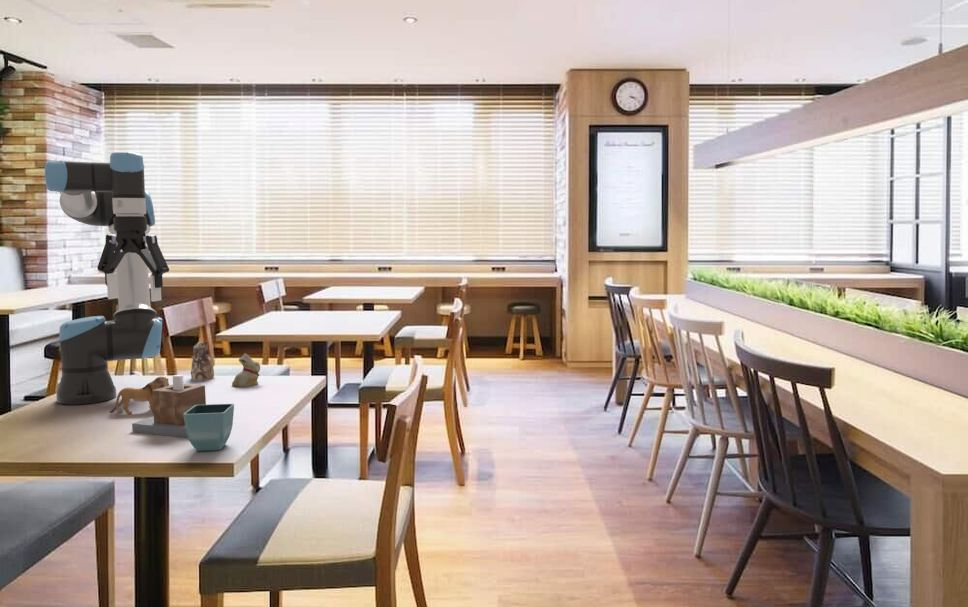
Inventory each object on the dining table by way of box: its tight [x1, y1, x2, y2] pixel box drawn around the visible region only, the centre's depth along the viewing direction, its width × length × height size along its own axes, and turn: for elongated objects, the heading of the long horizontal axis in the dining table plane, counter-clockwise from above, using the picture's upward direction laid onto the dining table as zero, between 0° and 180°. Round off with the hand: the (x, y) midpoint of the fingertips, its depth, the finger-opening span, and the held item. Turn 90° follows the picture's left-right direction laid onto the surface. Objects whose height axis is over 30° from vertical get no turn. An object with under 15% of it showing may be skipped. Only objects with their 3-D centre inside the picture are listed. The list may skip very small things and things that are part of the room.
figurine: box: [190, 340, 215, 381], centre depth 239 cm, size 7×7×12 cm
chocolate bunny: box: [231, 353, 261, 388], centre depth 228 cm, size 6×8×10 cm
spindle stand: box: [131, 374, 188, 438], centre depth 179 cm, size 18×12×13 cm, turn 71°
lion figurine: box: [109, 376, 170, 415], centre depth 196 cm, size 15×5×9 cm, turn 116°
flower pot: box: [183, 403, 235, 452], centre depth 163 cm, size 9×9×9 cm
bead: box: [152, 383, 207, 426], centre depth 179 cm, size 8×8×8 cm
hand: (134, 299), depth 187 cm, fingers open, 13 cm apart
